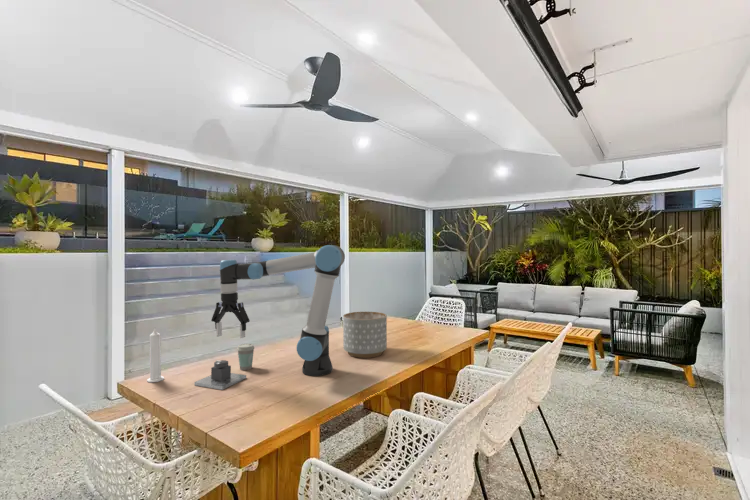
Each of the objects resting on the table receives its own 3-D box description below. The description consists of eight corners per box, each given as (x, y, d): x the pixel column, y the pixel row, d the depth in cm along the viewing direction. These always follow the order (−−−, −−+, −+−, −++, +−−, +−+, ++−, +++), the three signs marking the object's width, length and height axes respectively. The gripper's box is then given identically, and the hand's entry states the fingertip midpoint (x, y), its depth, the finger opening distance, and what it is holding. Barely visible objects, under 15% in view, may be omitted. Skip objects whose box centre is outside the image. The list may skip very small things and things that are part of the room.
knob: (230, 377, 185) (231, 360, 185) (221, 381, 179) (221, 364, 179) (220, 375, 187) (220, 358, 187) (210, 379, 182) (211, 362, 181)
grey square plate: (246, 378, 188) (246, 364, 188) (222, 389, 173) (222, 375, 173) (219, 374, 194) (219, 361, 193) (194, 385, 179) (194, 371, 179)
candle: (167, 378, 188) (166, 326, 188) (154, 383, 181) (154, 329, 181) (156, 376, 190) (155, 325, 190) (143, 381, 184) (142, 328, 183)
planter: (394, 350, 235) (394, 313, 234) (371, 361, 213) (371, 321, 213) (359, 345, 248) (359, 310, 248) (334, 354, 227) (334, 316, 226)
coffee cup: (249, 371, 198) (249, 348, 197) (233, 370, 199) (233, 347, 199) (257, 366, 206) (257, 343, 206) (242, 365, 208) (242, 342, 207)
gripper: (256, 291, 185) (257, 336, 186) (213, 291, 194) (215, 333, 194) (246, 293, 178) (247, 340, 179) (202, 293, 187) (204, 337, 187)
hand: (230, 336), depth 186 cm, fingers open, 13 cm apart
